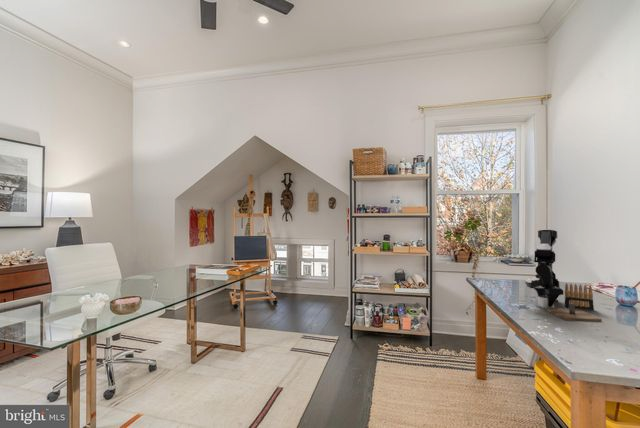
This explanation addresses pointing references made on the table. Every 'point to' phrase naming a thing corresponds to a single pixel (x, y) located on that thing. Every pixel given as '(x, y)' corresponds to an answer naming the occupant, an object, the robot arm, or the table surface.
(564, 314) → the post base
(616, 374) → the table surface
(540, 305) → the tube
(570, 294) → the ammunition clip
